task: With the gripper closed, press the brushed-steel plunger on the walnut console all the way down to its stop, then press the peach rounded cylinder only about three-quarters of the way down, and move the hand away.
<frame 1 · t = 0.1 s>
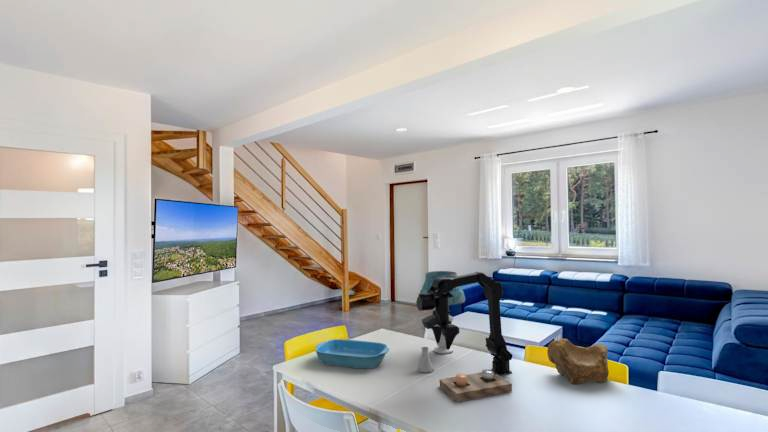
hand: (442, 346, 158), 15 cm above the table, fingers open, 9 cm apart
table lamp: (443, 351, 195), on the table
flask: (425, 370, 170), on the table
rough brown rock: (579, 380, 156), on the table
steel plunger: (487, 375, 152), point 4 cm above the table, slide at 0.0 cm
console: (475, 389, 150), on the table
peach rounded cylinder: (461, 380, 148), point 4 cm above the table, slide at 0.0 cm
casserole dish: (352, 361, 184), on the table
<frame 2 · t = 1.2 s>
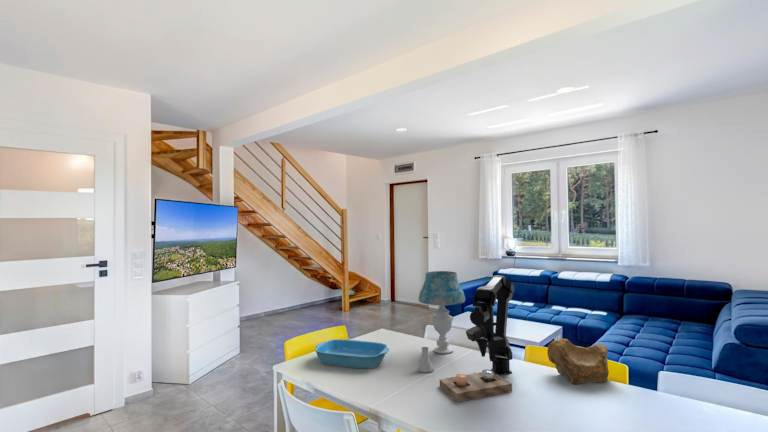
hand: (487, 358, 152), 11 cm above the table, fingers open, 5 cm apart
nothing on the table moved.
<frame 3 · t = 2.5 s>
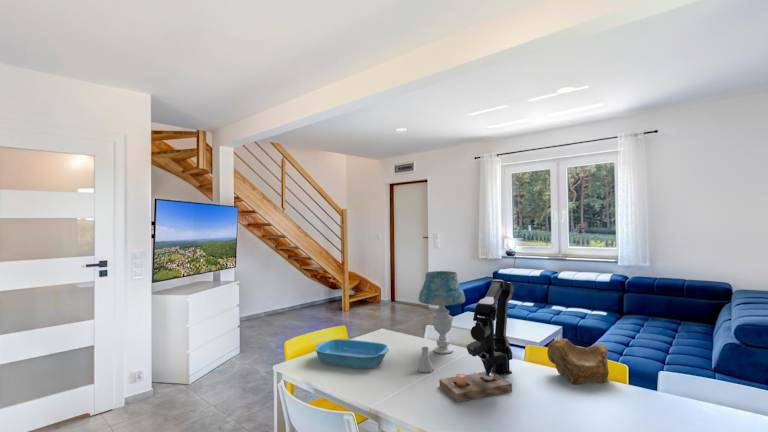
hand: (487, 373, 152), 5 cm above the table, fingers closed, pressing on steel plunger
steel plunger: (488, 377, 152), point 4 cm above the table, slide at 0.8 cm, touching gripper
everything else where it was.
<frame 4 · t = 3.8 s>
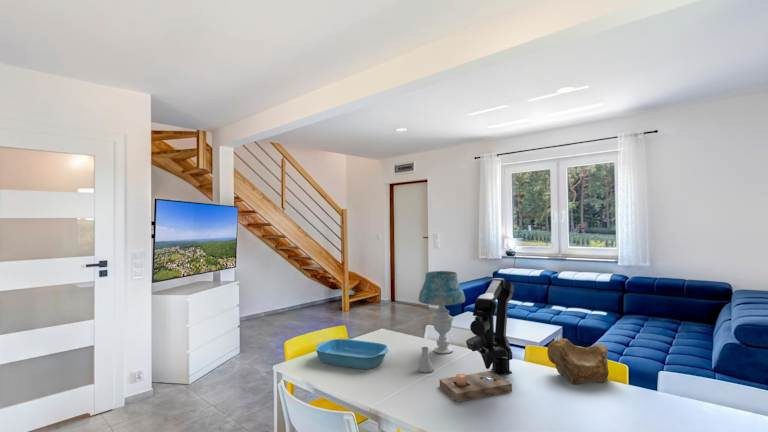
hand: (487, 368, 152), 7 cm above the table, fingers closed
steel plunger: (488, 381, 152), point 2 cm above the table, slide at 2.5 cm
everything else where it was.
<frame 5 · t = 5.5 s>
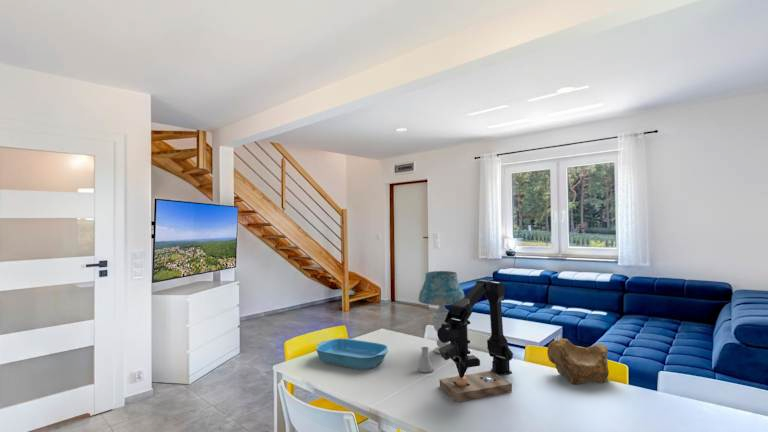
hand: (461, 377, 148), 5 cm above the table, fingers closed, pressing on peach rounded cylinder
peach rounded cylinder: (461, 381, 148), point 4 cm above the table, slide at 0.6 cm, touching gripper
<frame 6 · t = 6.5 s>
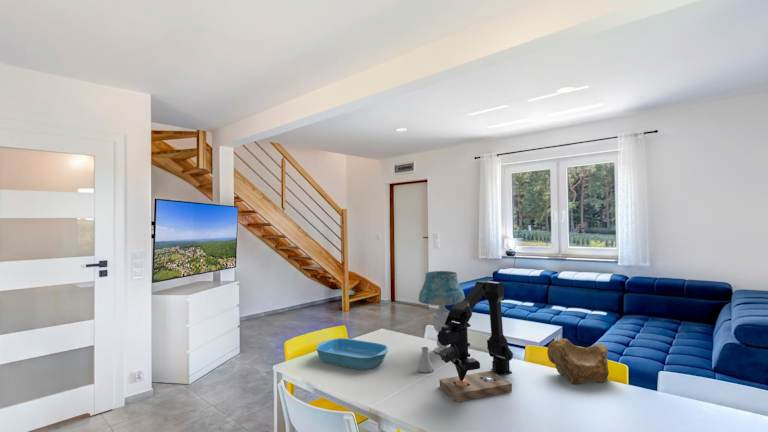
hand: (461, 380, 148), 4 cm above the table, fingers closed
peach rounded cylinder: (461, 384, 148), point 3 cm above the table, slide at 1.7 cm
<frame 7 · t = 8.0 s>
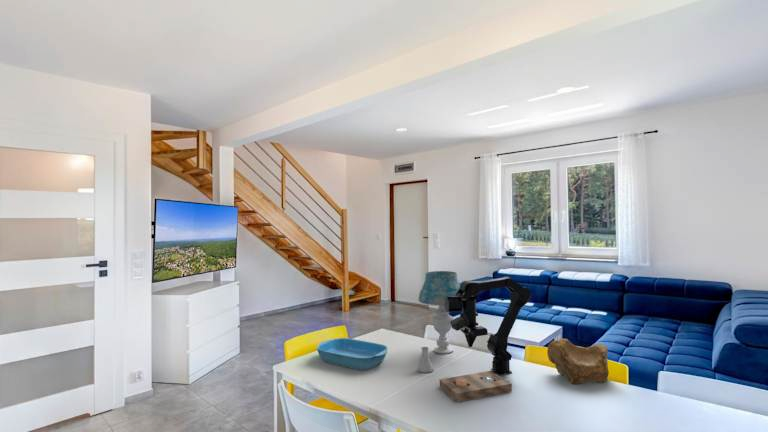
hand: (470, 346, 164), 12 cm above the table, fingers closed
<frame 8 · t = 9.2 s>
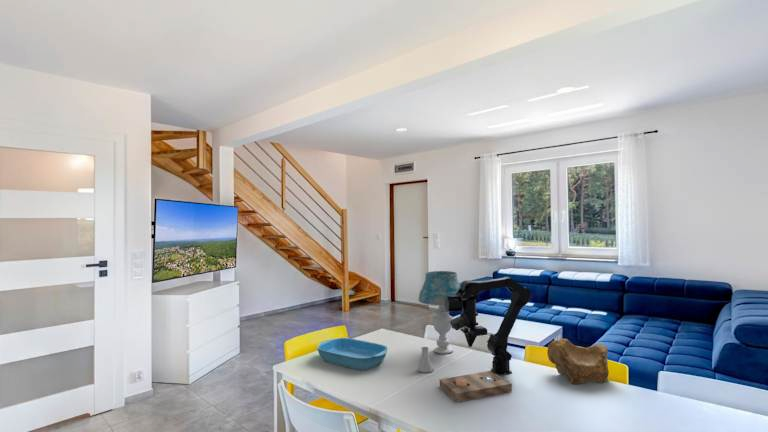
hand: (470, 346, 164), 12 cm above the table, fingers closed
at the end: steel plunger slide at 2.5 cm; peach rounded cylinder slide at 1.7 cm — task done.
